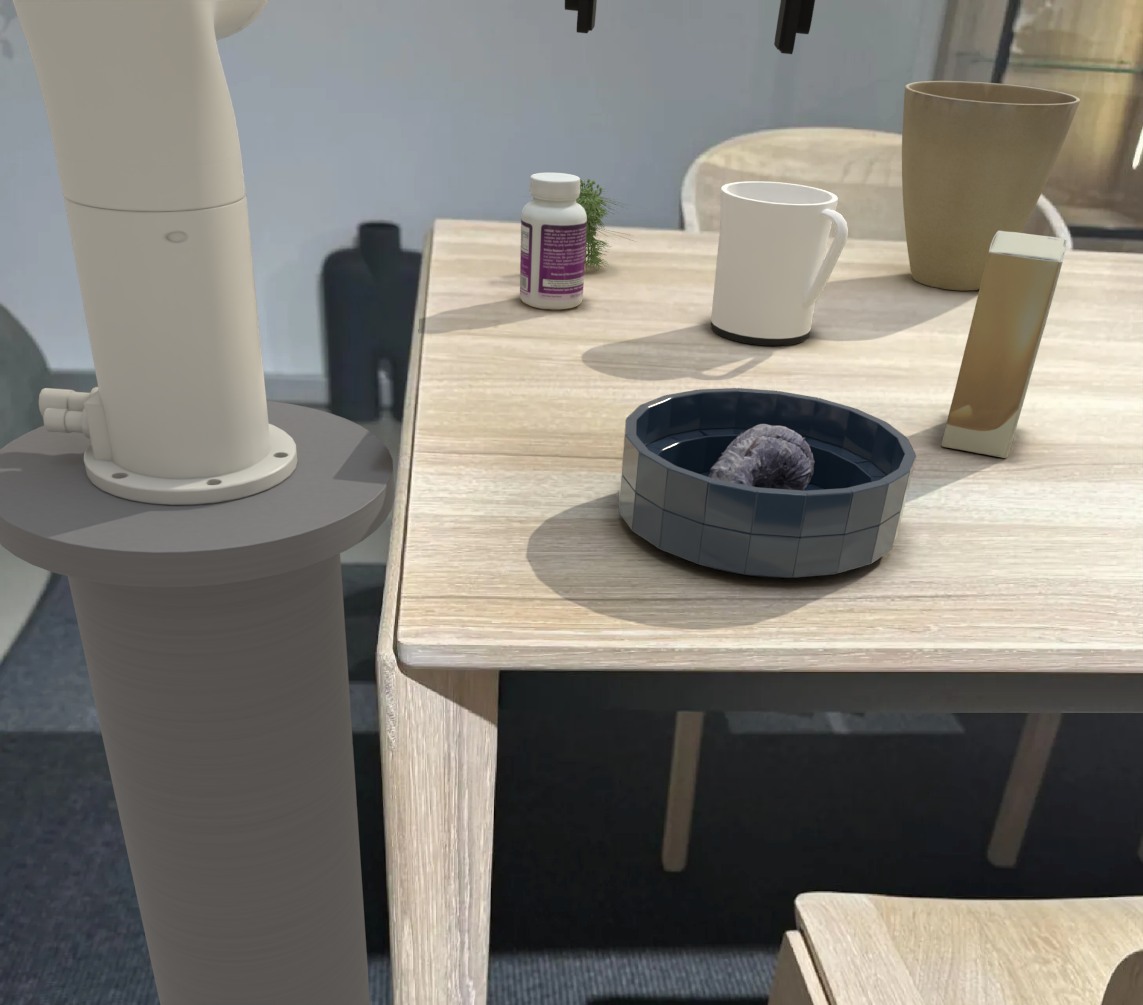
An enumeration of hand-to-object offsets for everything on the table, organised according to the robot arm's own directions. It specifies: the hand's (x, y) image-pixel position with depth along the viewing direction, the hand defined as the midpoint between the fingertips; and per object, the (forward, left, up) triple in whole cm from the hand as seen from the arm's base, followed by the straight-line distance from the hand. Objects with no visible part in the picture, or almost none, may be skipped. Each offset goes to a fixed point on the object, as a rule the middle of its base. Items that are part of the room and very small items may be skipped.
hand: (684, 40), depth 57 cm
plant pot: (+29, +53, -22) cm, 65 cm away
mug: (+10, +31, -22) cm, 40 cm away
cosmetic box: (+22, +10, -22) cm, 33 cm away
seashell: (+6, -6, -22) cm, 23 cm away
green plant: (-6, +48, -22) cm, 54 cm away
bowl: (+6, -6, -22) cm, 24 cm away
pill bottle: (-8, +36, -22) cm, 43 cm away
